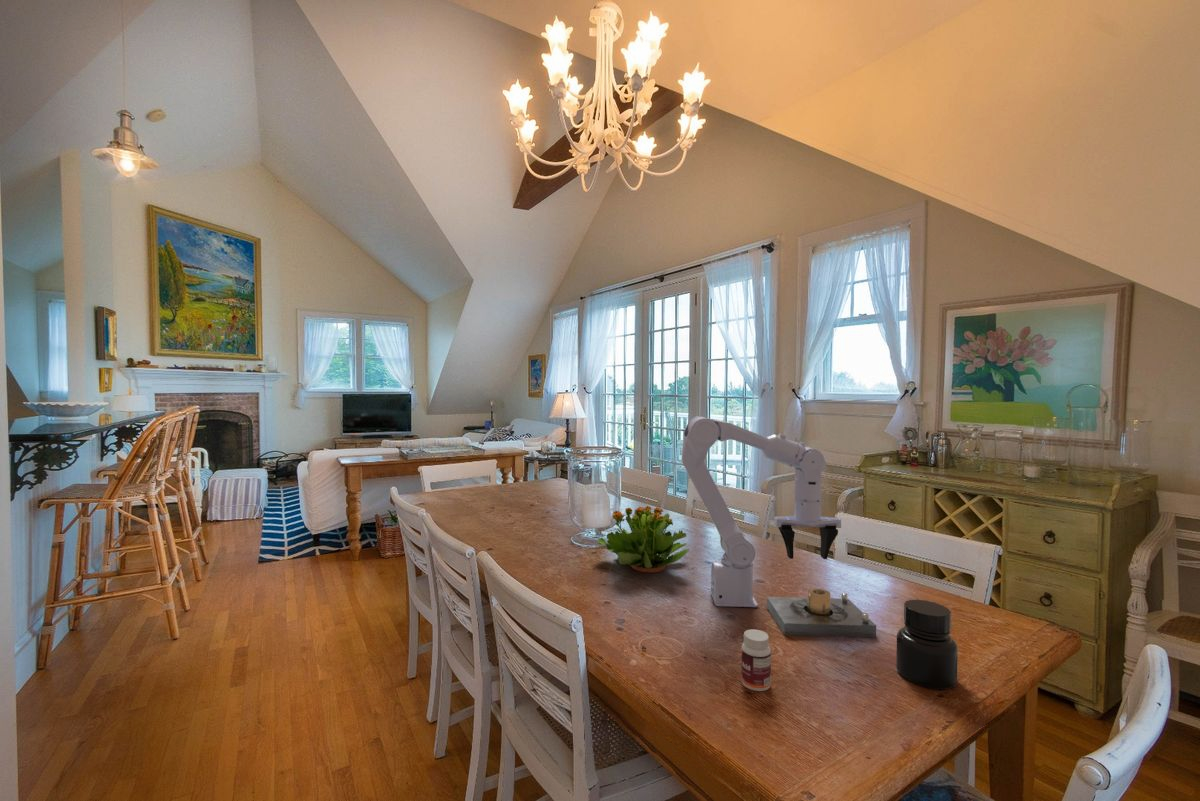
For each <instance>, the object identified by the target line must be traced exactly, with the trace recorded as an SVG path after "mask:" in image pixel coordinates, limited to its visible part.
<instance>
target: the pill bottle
mask: <svg viewBox="0 0 1200 801" xmlns="http://www.w3.org/2000/svg"><path fill="white" fill-rule="evenodd" d="M769 643H770V636H769V634H768V633H767V632H765V631H763V630H759V629H755V628H754V629H750V628H749V629H746V630H745V631H744V633H743V643H742V644H741V651H740V652H741V659H740V660H741V661H740V663H741V664H740V667H741V668H740V675H741V676H740V677H741V678H740V679H741V680H740V681H741V684H742V685H743V686H744V687H745V688H747V689H748V690H751V691H755V692H765V691H767V690H769V689H770V687H771V683H772V682H771V681H772V680H771V679H772V678H771V676H772V674H771V673H772V671H771V670H772V668H771V667H772V649H771V647H770V646H769V645H770V644H769Z"/></svg>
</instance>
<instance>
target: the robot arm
mask: <svg viewBox="0 0 1200 801" xmlns="http://www.w3.org/2000/svg"><path fill="white" fill-rule="evenodd" d="M786 437H787V435H785V434H782V433H778V434H771V435H769V436H763V435H762V434H758V433H756V432H753V431H751V430H749V429H746V428H743V427H741V426H738V425H737V424H734V423H731V422H728V421H724V420H719V419H714V418H708V417H706V416H703V415H702V416H701V415H698V416H694V417H692V418H691V419H690V420H689V421H688V423H687V424H686V426H685V428H684V431H683V440H682V451H681V458H680V459H681V462H682V463H681V464H682V465H683V467H684V469H685V470H686V473H687V475H688V476H689V478H690V480H691V482H692V483H693V484H692V485H693V486H694V487H695V490H696V492H697V494H698V495H699V497H700V499H701V501H702V503H703V506H704V507H705V508H706V511H707V513H708V514H709V516H710V518H711V521H712V522H713V525H714V526H715V528H716V531H717V532H718V535H719V538H720V540H719V542H720V547H721V549H722V550H723V552H724V553H723V555H722V556H721V558H720V559H721V560H719V561H713V562H711V566H710V567H711V570H710V576H711V577H710V595H711V597H712V599H713V602H714V604H715V606H717V607H735V608H736V607H739V608H742V607H744V608H758V607H759V604H758V602H757V601H756V599H755V598H754V586H753V585H754V560H755V558H756V548H755V545H753V543H751V542H750V541H749V539H747V537H746V535H745V534H744V532H743V531H741V529H740V528H739V526H738V524H737V522H736V521H735V519H734V517H733V515H732V514H731V511H730V509H729V508H728V506H727V504H726V501H725V500H724V498H723V496H722V494H721V492H720V490H719V489H718V486H717V485H716V483H715V480H714V479H713V476H712V474H711V472H710V471H709V469H708V467H707V466H706V464H705V461H706V460H705V459H706V458H707V455H708V452H709V450H710V449H711V448H712V446H714V444H715V443H716V442H717V441H719V442H725V441H728V440H732V441H735V442H738V443H741V444H744V445H748V446H750V447H753V448H757V449H759V450H761V451H762V453H763V456H764V457H765V458H767V459H769V460H772V461H774V462H777V463H781V465H782V464H783V465H785V466H788V467H791V468H792V467H793V468H794V506H793V507H794V510H793V514H794V515H785V516H774V520H773V523H774V526H775V527H777V528H778V531H779V532H780V535H781V536H782V540H783V541H784V545H785V551H786V555H787V557H788V558H789V559H792V560H793V559H794V542H795V541H794V540H795V536H796V535H795V534H796V532H795V531H794V527H798V528H799V527H800V528H801V527H803V528H804V527H806V528H807V527H810V528H812V527H813V528H819V534H820V535H819V536H820V557H821V558H822V559H823V560H828V557H829V556H828V555H829V552H830V550H831V547H832V544H833V543H834V541H835V539H836V538H837V536H838V534H839V529H841V528H842V520H841V519H840V518H839V517H830V516H822V473H823V471H824V470H825V468H826V466H827V461H825V457H824V455H823V453H822V452H821V451H819V450H818V449H815V448H812V447H809V446H808V445H806V443H805V442H802V441H799V442H796V441H793V440H791V439H788V438H786Z"/></svg>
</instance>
